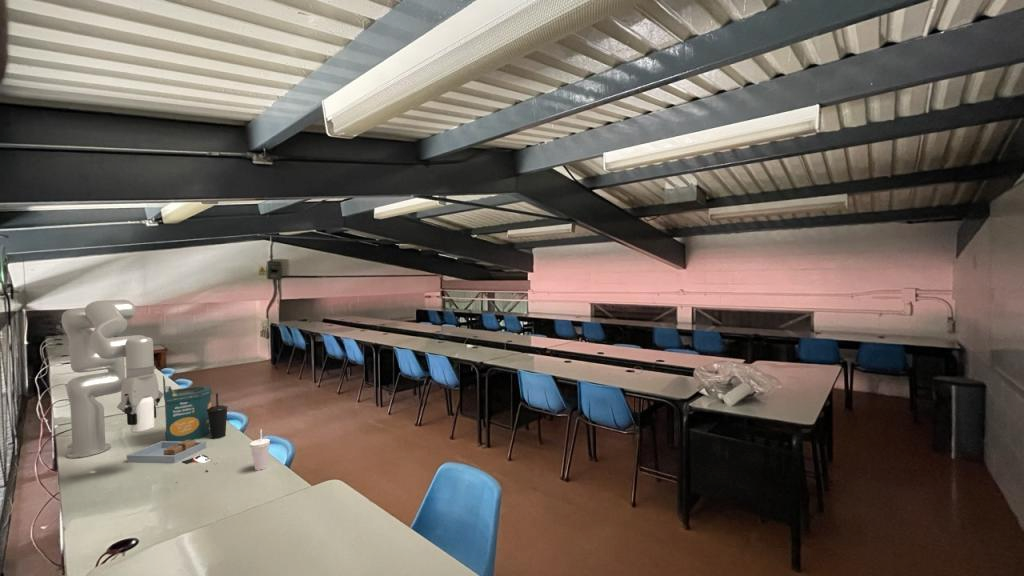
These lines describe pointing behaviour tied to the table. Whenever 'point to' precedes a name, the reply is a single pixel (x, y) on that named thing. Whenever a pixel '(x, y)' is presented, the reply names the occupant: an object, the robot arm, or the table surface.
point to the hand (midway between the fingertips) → (142, 420)
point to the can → (144, 415)
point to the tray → (157, 453)
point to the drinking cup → (217, 420)
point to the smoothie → (260, 452)
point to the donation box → (187, 412)
